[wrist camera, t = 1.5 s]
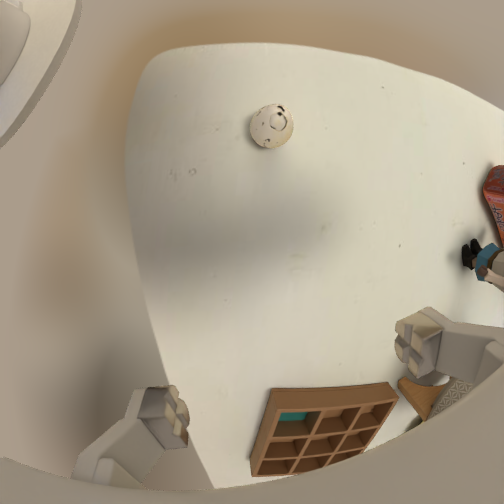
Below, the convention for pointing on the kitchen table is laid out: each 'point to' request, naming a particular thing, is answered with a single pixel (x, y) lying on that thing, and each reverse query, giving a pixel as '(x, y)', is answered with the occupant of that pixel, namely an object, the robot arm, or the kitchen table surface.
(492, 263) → the toy
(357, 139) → the kitchen table surface
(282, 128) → the egg
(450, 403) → the planter
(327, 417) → the compartment tray
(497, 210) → the snack package
